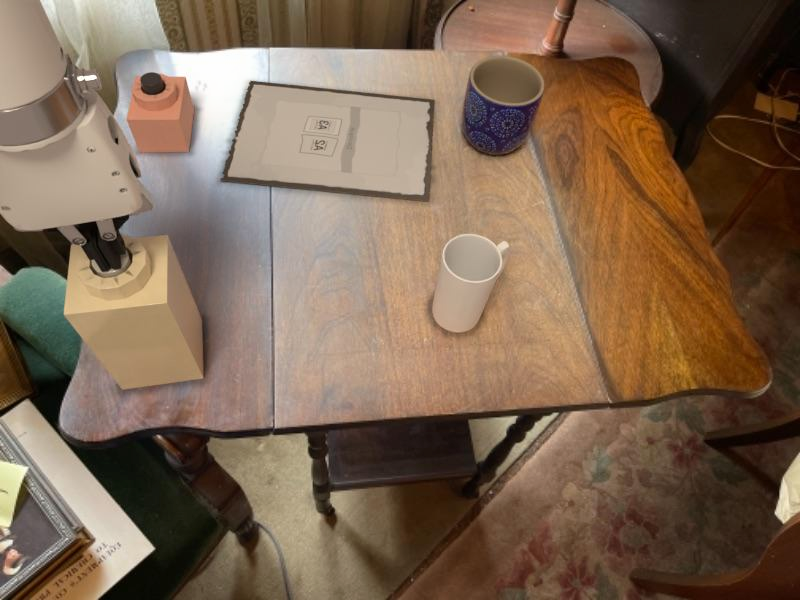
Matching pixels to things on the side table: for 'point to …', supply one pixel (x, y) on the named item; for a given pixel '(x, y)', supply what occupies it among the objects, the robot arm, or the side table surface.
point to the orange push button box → (162, 116)
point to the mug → (466, 280)
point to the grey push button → (125, 265)
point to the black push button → (152, 83)
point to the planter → (501, 103)
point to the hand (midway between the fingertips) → (111, 257)
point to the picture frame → (333, 141)
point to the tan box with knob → (138, 315)
